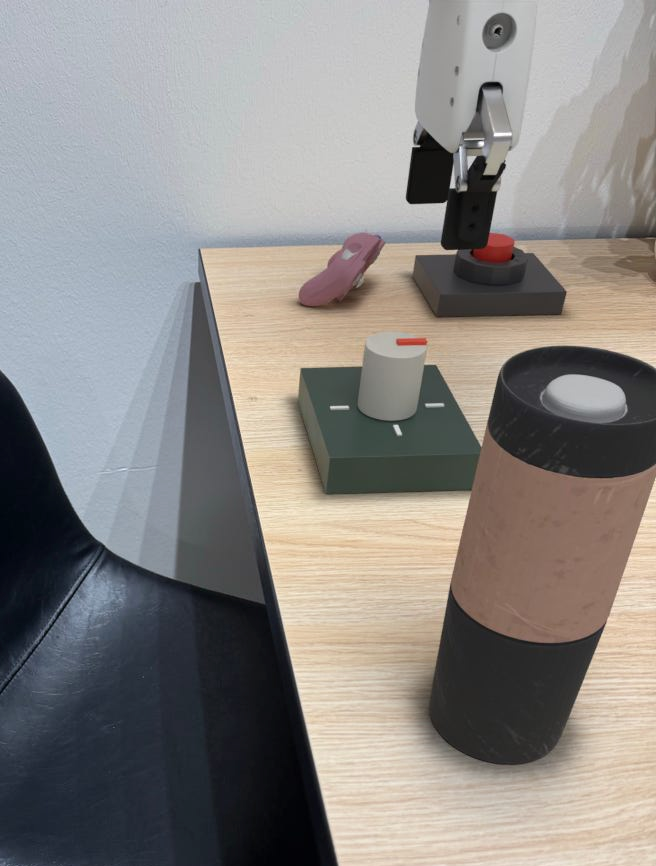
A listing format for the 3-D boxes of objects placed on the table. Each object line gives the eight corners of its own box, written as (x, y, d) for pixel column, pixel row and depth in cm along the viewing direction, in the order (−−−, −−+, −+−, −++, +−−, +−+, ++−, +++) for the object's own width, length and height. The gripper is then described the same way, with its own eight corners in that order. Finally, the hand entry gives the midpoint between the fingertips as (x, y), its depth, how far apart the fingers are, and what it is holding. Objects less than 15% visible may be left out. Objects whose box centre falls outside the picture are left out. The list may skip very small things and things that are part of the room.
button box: (528, 274, 106) (537, 234, 103) (561, 314, 98) (572, 272, 96) (412, 276, 105) (418, 236, 103) (436, 317, 98) (443, 275, 95)
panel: (297, 401, 85) (300, 365, 83) (430, 398, 85) (436, 362, 83) (325, 494, 74) (330, 455, 72) (477, 489, 75) (485, 451, 73)
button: (504, 250, 101) (508, 232, 100) (515, 264, 98) (519, 245, 97) (468, 251, 101) (471, 233, 100) (478, 265, 98) (481, 246, 97)
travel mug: (395, 717, 57) (461, 382, 44) (472, 652, 61) (553, 328, 48) (519, 792, 53) (631, 446, 40) (592, 717, 57) (716, 382, 44)
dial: (363, 422, 76) (372, 354, 73) (352, 394, 79) (360, 327, 76) (422, 420, 76) (434, 352, 73) (409, 392, 80) (420, 326, 76)
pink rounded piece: (330, 328, 99) (369, 269, 94) (291, 300, 99) (329, 239, 94) (362, 292, 106) (400, 235, 101) (326, 265, 106) (363, 207, 101)
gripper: (599, -34, 59) (533, 266, 70) (501, -72, 72) (459, 185, 83) (469, -31, 59) (424, 270, 70) (395, -70, 72) (367, 189, 83)
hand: (443, 224), depth 76 cm, fingers open, 9 cm apart
